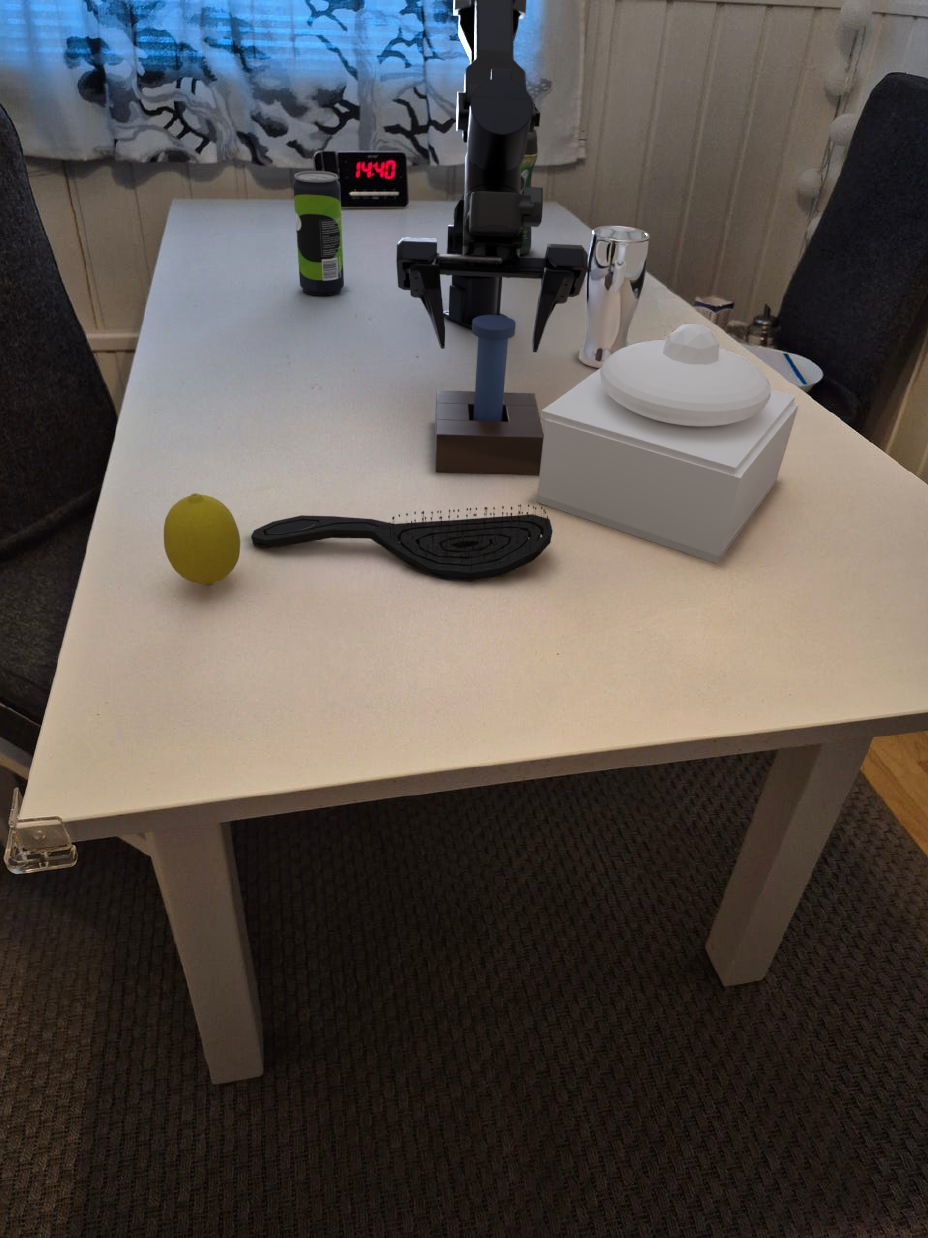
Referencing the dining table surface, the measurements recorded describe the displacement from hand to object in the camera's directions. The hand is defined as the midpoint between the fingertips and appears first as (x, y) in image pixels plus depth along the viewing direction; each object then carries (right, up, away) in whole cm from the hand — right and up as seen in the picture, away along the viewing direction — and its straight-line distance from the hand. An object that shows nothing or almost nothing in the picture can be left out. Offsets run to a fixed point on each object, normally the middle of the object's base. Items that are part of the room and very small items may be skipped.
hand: (489, 348), depth 87 cm
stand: (0, -10, +2) cm, 10 cm away
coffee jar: (+4, +34, +59) cm, 69 cm away
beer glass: (+15, +5, +23) cm, 28 cm away
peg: (0, -10, +2) cm, 10 cm away
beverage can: (-23, +20, +39) cm, 50 cm away
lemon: (-22, -24, -18) cm, 38 cm away
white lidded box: (+16, -15, -3) cm, 22 cm away
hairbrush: (-8, -21, -13) cm, 26 cm away
